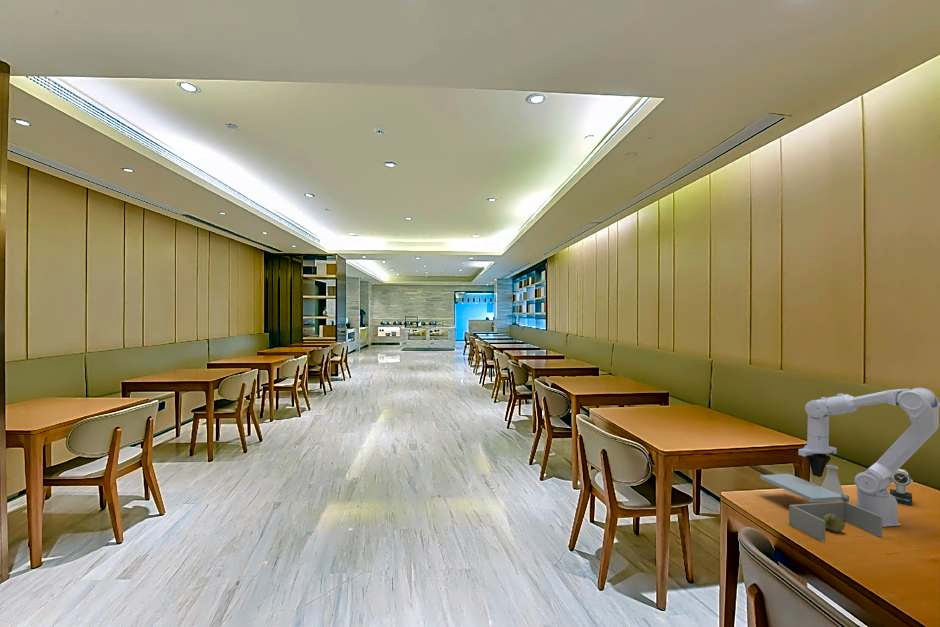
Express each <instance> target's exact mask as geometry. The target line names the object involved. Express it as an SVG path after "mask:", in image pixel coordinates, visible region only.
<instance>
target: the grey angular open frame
mask: <svg viewBox="0 0 940 627" xmlns="http://www.w3.org/2000/svg"><path fill="white" fill-rule="evenodd" d="M788 505H789V506H788V507H789V508H788V510H789V511H788V525H789V526H791V527H793V528H795V529H797V530H798V531H800V530H801V531H800V532H802V531H803V533H804V532H805V533H804V534H807V535H808V536H810V537H812V538H813V539H815V538H817V539H819V540H821V541H825V542H826V526H825V521H824V520H823V519H824V516H825V515H827V514H835V515H837V516H838V517H839V518H841V519H842V520H843V521H846V522H845V523H847V522H848V524H849V523H851V524H853V525H852V526H854V525H855V526H854V527H856V526H857V527H856V528H858V527H859V529H860V528H861V529H860V530H862V529H863V530H862V531H864V532H867V533H869V534H871V535H874V536H876V537H878V538H883V527H882V516H879V515H877V514H875V513H872V512H870V511H867V510H865V509H863V508H860V507H858V506H857V505H855V504H854V503H850V502H847V501H842V500H841V501H826V502H811V503H799V504H797V503H796V504H788ZM851 524H850V525H851ZM817 539H816V540H817ZM819 540H818V541H819ZM821 541H820V542H821Z"/></svg>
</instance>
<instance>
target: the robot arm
mask: <svg viewBox="0 0 940 627" xmlns="http://www.w3.org/2000/svg"><path fill="white" fill-rule="evenodd" d="M879 404H889V405H892V406H895V407H897V406H900V408H901V409H902V410H903V411H904V412H905V413H906V415H908V418H909V420H910V422H911V424H910V425H909V426H908V428H907V429H905V430H904V432H903V433H902V434H901V435H900V436H899V437H898V438H897V439H896V440H895V441H894V442H893V443H892V444H891V445H890V447H889V448H888V449H887V450H886V451H885V452H884V453H883V454H882V455H881V456H880V457H879V458H878V460H877V461H876V462H875V463H873V464H872V465H871V466H869V467H868V468H866V470H865V471H862V472H859V473H857V474H856V475H855V477H854V481H853V482H854V484H855V487H856V488H857V489H856V491H857V493H856V495H857V496H856V501H857V502H856V506H858V507H860V508H863V509H865V510H867V511H870V512H872V513H875V514H877V515H879V516H882V528H884V527H885V528H886V527H896V526H898V527H899V526H901V523H900V522H898V503H897V501H896V499H895V497H894V496H893V495H892V494H890V492H889V491H888V490H887V488H890V486H891V484H892V477H893V476H894V475H895V473H896V471H897V470H898V469H901V467H902V466H903V465H904V464H905V463H906V462H907V461H908V460H909V459H910V458H911V457H912V456H913V455H914V454H915V453H916V452H917V451H918V450H919V449H920V448H921V447H922V446H923V445H924V444H925V443H926V442H927V441H928V440H929V439H930V438H931V436H932V435H933V434H935V432H936V431H938V429H939V427H940V426H939V425H940V420H939V419H940V416H939V415H940V413H939V412H940V410H939V409H940V401H939V399H938V398H937V395H936V394H935V393H934V392H933V391H932V390H930V389H929V388H925V387H914V388H912V389H910V388H899V389H888V390H883V391H879V392H873V393H870V394H863V395H858V396H853V395H850V394H847V393H846V394H844V393H837V394H836V395H835V396H830V397H826V396H822V397H820V399H812V400H809V401H808V402H806V403H805V406H804V412H805V413H806V414H807V430H806V431H807V435H806V437H807V438H806V439H807V440H806V444H805V445H804V447H803V448H799V449H798V452H797V453H798V455H799V456H800V457H801V456H802V457H804V458H806V459H807V461H808V464H809V466H810V469H811V473H812V476H815V477H818V478H821V477H822V476H823V474H824V471H825V470H826V469H825V468H826V467H827V466H826V465H828V463H829V462H830V461H831V458H832V457H831V456H830V455H828V454H833V455H834V454H835V455H837V447H834V446H830V444H829V443H830V442H829V440H830V436H829V435H830V416H837V415H844V414H850V413H851V414H852V413H855V412H856V411H857V409H858V408H859V407H864V406H867V407H868V406H873V405H874V406H875V405H879Z"/></svg>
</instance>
